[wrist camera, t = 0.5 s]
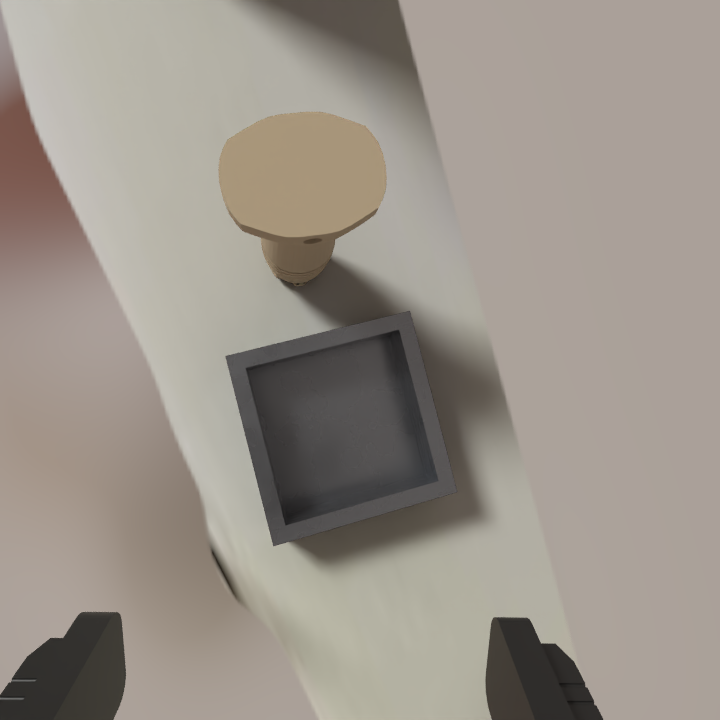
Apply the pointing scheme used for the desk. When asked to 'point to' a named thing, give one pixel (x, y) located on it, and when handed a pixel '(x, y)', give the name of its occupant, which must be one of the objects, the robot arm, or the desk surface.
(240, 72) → the desk surface
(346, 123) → the handle
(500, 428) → the desk surface
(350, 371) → the grey square tray
